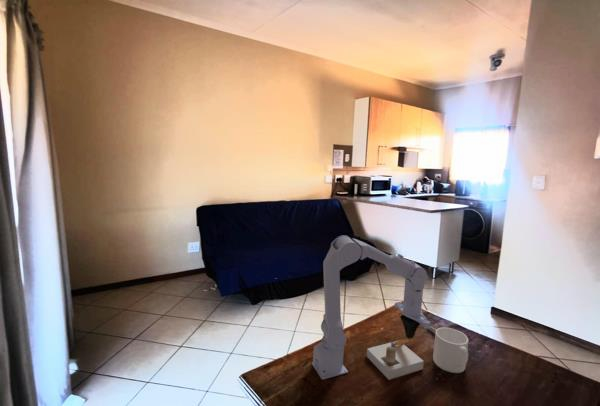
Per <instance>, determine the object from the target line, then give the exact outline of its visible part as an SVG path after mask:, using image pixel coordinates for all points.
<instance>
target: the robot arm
mask: <svg viewBox="0 0 600 406" xmlns="http://www.w3.org/2000/svg"><path fill="white" fill-rule="evenodd" d="M366 258H369V259H371V260H374V261H376V262H378V263H380V264H383V265H385V268H386V269H387V271H389V272H391V273H393V274H395V275H398V276H400V277H401V278H404V290H403V303H402V302H401V301H396V302H394V309H396V310H397V309H398V310H399V311H400V312H401V313H402V315H399V316H400V317H399V318H400V320H401V322H402V324H403V329H404V333H405V338H406V339H407V338H408V339H410V338H413V339H414V337H415V334H416V332H417V330H418V328H419V327H420V325H422V326H423V329H425V330H426V329H427V330H429V329H428V328H430V326H432V325H431V324H432V323H431V321H429V320H428V318H427V317H426V316H425V315H424V314H423V310H422V307H423V306H422V305H423V294H424V288H425V284H426V283H427V281H428V280H429V275H428V273H427V270H426V269H425V268H423V267H422V266H421V265H419V264H417V263H416V262H415V261H413V260H412V259H411V260H409V259H407V258H405V257H404V255H402V254H401V253H398V254H396V253H392V254H390V255H389V254H387V253H385V252H384V251H381V250H379V249H378V248H376V247H374V246H372V245H370V244H368V243H366V242H364V241H361V240H359V239H356V238H355V237H354V238H353V237H352V238H351V237H349V236H348V235H340V236H337V237H336V238H335V239H334V240H333V241H332V242H331V243H330V248H329V249H328V252H327V254H326V256H325V258H324V260H323V262H322V263H323V266H322V267H323V268H322V269H323V290H324V291H323V293H324V295H323V299H324V313H323V320H322V321H321V324H320V328H321V329H320V330H321V331H322V332H323V333H322V334H323V336H322V338H321V341H320V342H319V343H318V344H316V345H314V346H313V349H312V350H313V352H312V353H313V354H312V362H311V365H312V367H313V368H314V370H315V371H316V373H317V374H318V376H319V377H320V379H321V380H326V379H329V378H334V377H337V376H341V375H344V374H347V373H349V372H348V369H347V368H346V366H345V365H344V350H345V349H344V347H345V346H346V343H347V337H346V334H345V333H344V326H343V325H344V324H343V322H342V318H341V317H342V316H341V310H342V308H341V284H340V283H341V277H340V276H341V275H340V273H341V272H340V271H342V269H344V268H345V267H347V266H349V265H352V264H354V263H356V262H357V261H359V259H360V260H361V261H362V260H365V259H366Z"/></svg>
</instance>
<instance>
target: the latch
mask: <svg viewBox="0 0 600 406" xmlns="http://www.w3.org/2000/svg"><path fill="white" fill-rule="evenodd" d="M399 340H400V341H399ZM399 340H395V341H396V342H395V341H394V342H395V345H400V344H404V345H405V344H407V343H410V342H415V341H414V337H413V338H410V339H408V338H407V337H406V338H405V339H404V338H403V339H399Z"/></svg>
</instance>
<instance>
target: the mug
mask: <svg viewBox="0 0 600 406" xmlns="http://www.w3.org/2000/svg"><path fill="white" fill-rule="evenodd" d="M436 329H437V330H436V332H435V333H434V344H433V355H432V361H433V363H434V364H435V365H436V366H437V367H438V368H440V369H441V370H443V371H445V372H447V373H452V374H461V373H463V372H464V371H465V370H466V366H467V363H468V360H469V351H468V347H469V338H468V336H467V335H466V334H465V333H464V332H462V331H459V330H457V329H455V328H451V327H439V328H436Z"/></svg>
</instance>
